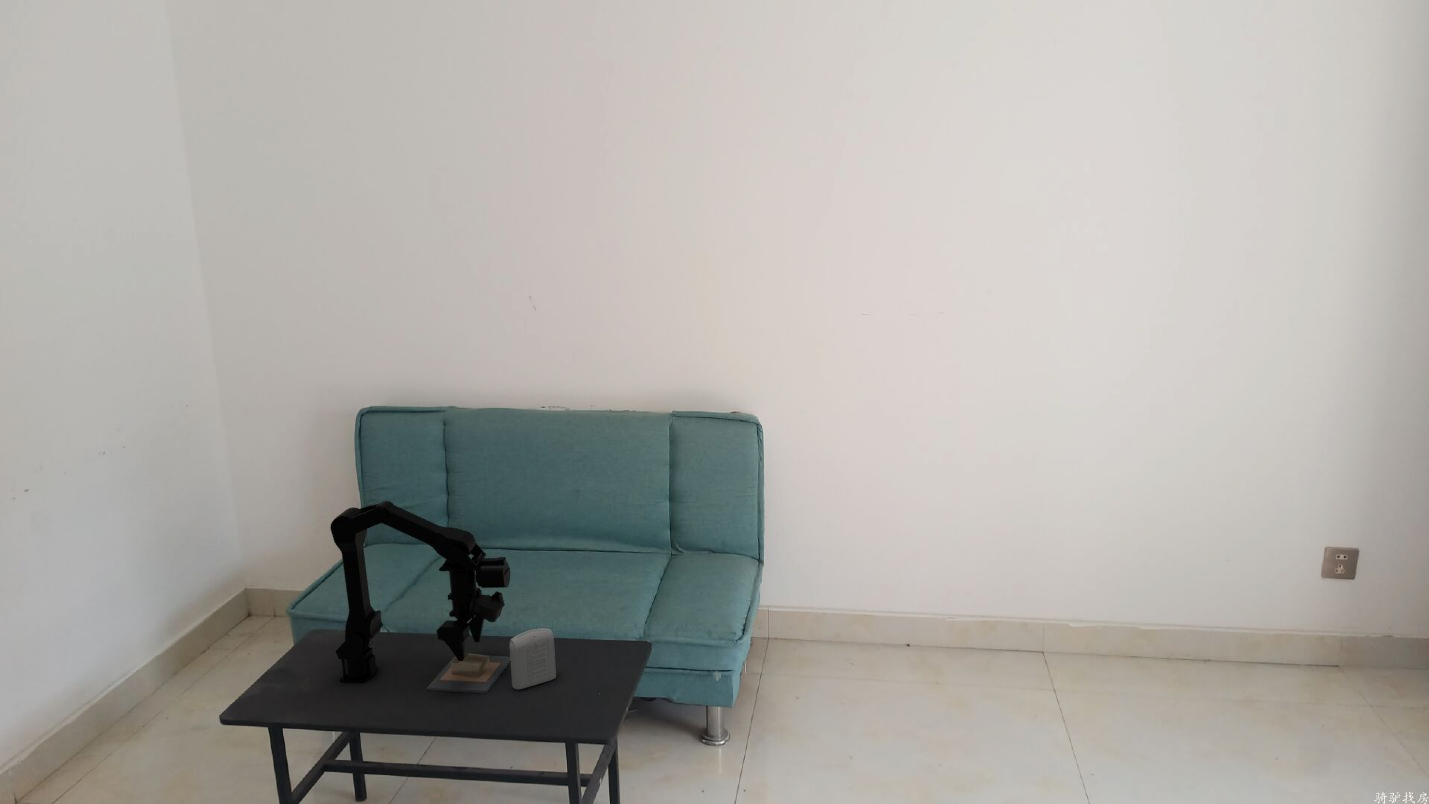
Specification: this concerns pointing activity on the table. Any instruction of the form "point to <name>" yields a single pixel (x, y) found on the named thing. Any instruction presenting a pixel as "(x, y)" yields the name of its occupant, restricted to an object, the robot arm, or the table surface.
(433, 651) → the table surface
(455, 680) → the rubber mat
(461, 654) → the robot arm
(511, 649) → the grey rounded block
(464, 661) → the tan beveled box
